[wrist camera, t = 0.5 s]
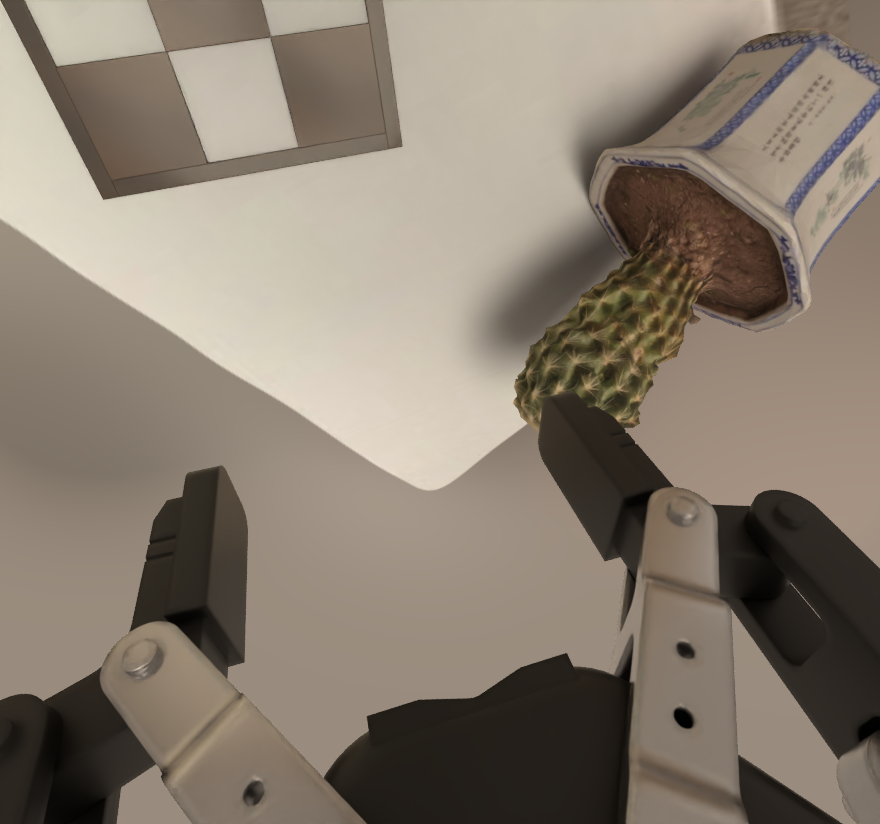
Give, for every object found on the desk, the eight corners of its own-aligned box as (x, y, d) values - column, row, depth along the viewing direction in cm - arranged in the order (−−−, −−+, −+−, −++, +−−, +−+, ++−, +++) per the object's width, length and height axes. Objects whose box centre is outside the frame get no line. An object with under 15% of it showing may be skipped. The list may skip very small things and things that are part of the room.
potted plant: (959, -67, 23) (548, 442, 26) (956, 204, 34) (672, 538, 37) (656, 6, 37) (408, 334, 39) (726, 183, 48) (530, 428, 50)
